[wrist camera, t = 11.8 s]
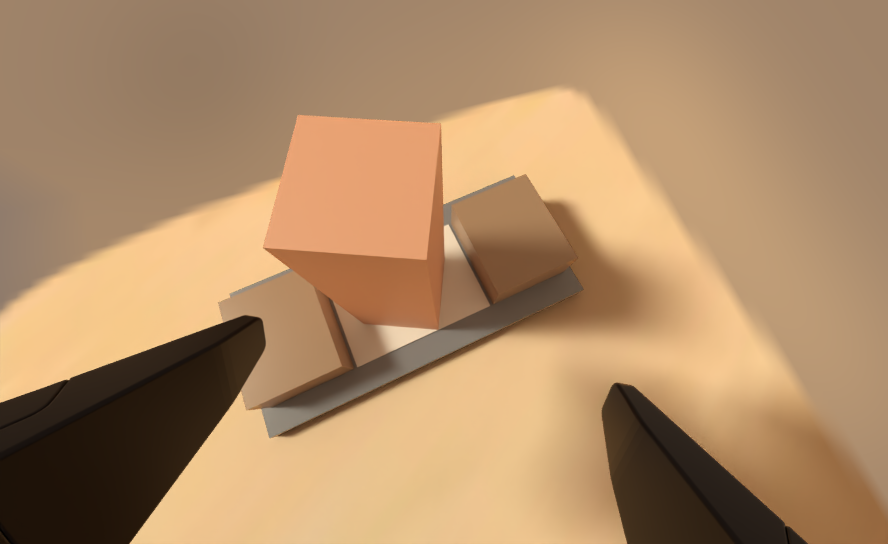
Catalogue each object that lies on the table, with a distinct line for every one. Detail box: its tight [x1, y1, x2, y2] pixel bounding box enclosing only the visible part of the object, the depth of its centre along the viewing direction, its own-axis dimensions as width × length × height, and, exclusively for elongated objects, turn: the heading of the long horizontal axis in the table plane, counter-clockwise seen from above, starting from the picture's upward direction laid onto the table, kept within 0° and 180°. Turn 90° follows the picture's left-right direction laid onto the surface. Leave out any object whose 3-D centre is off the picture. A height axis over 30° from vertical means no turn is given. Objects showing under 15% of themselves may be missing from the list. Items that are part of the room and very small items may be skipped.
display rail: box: [218, 174, 583, 438], centre depth 21 cm, size 20×9×3 cm, turn 115°
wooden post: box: [263, 115, 445, 330], centre depth 16 cm, size 4×4×12 cm
